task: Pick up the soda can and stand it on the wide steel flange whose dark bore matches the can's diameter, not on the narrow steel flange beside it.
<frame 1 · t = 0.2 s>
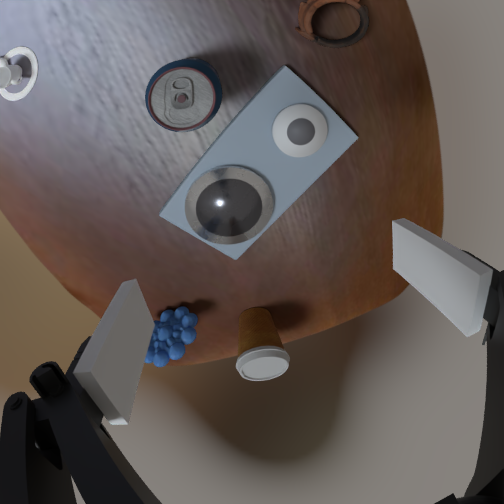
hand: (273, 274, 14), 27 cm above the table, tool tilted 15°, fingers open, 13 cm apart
pottery mug: (313, 4, 26), on the table
flange board: (256, 170, 40), on the table
grapes: (172, 312, 55), on the table
wide flange: (228, 201, 42), resting on flange board
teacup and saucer: (18, 53, 23), on the table
disposable coffee cup: (254, 316, 59), on the table
soda can: (190, 84, 32), on the table
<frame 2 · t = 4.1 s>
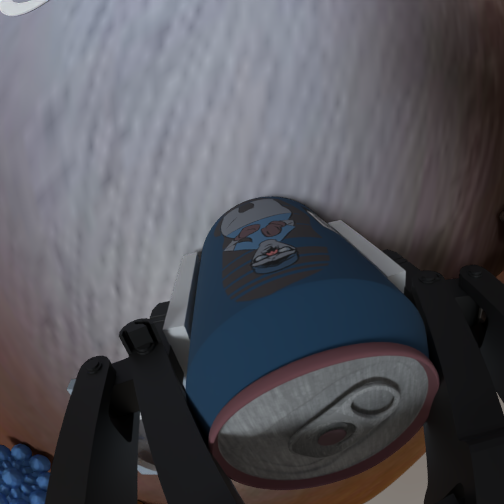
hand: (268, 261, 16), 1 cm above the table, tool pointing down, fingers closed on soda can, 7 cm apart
flange board: (247, 418, 22), on the table
grapes: (28, 448, 24), on the table
wide flange: (179, 427, 22), resting on flange board
soda can: (264, 252, 17), on the table, touching gripper
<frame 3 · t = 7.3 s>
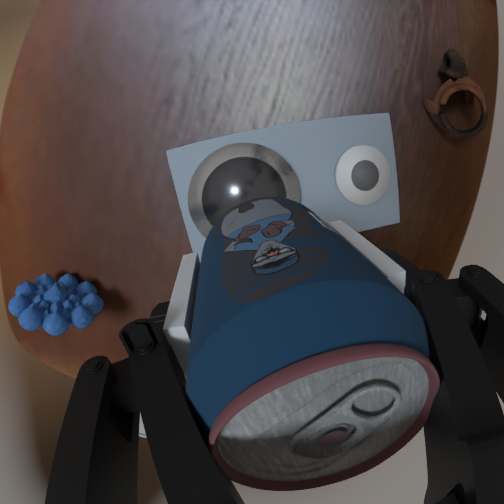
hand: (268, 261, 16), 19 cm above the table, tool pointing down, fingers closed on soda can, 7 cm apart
pottery mug: (442, 93, 31), on the table
flange board: (294, 184, 34), on the table
grapes: (74, 285, 36), on the table
wide flange: (243, 195, 34), resting on flange board
soda can: (265, 252, 17), point 18 cm above the table, touching gripper
when the fingers open (5 cm above the table, at t = 10.7 s): soda can drops 2 cm, resting on wide flange.
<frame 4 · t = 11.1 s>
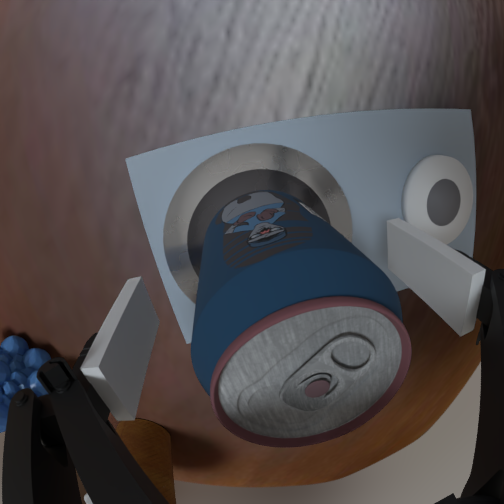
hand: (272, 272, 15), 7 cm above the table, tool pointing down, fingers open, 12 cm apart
flange board: (339, 214, 21), on the table
grapes: (25, 346, 23), on the table
wide flange: (257, 232, 21), resting on flange board
disposable coffee cup: (144, 432, 28), on the table
soda can: (261, 241, 19), point 2 cm above the table, touching wide flange
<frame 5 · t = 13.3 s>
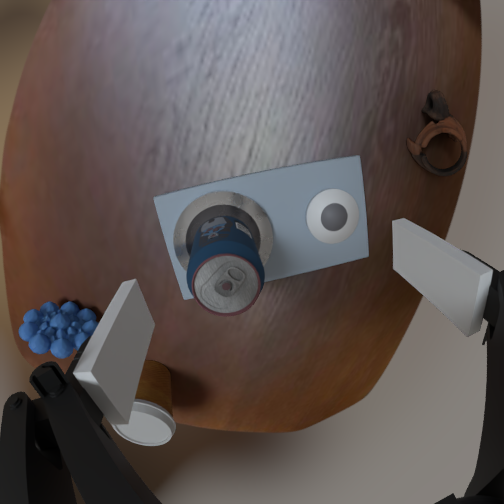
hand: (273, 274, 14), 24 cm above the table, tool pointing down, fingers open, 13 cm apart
pottery mug: (425, 131, 36), on the table
flange board: (269, 225, 38), on the table
grapes: (75, 310, 40), on the table
wide flange: (222, 236, 38), resting on flange board
disposable coffee cup: (152, 373, 45), on the table
soda can: (223, 241, 36), point 2 cm above the table, touching wide flange
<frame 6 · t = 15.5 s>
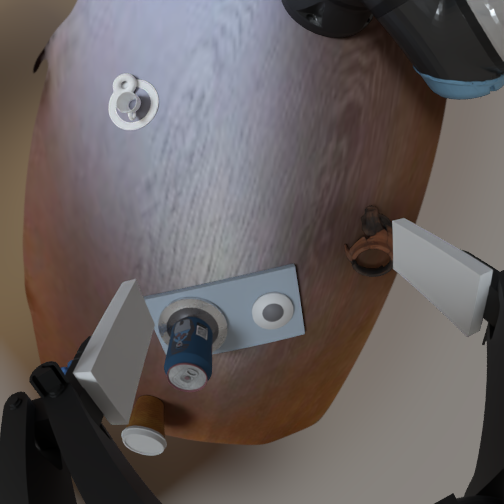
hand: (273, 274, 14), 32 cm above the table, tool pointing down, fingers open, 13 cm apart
pottery mug: (365, 232, 49), on the table
flange board: (226, 315, 52), on the table
wide flange: (193, 322, 52), resting on flange board
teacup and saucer: (147, 89, 38), on the table
disposable coffee cup: (150, 403, 59), on the table
soda can: (192, 329, 50), point 2 cm above the table, touching wide flange
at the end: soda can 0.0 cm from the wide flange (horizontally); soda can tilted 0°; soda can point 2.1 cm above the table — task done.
